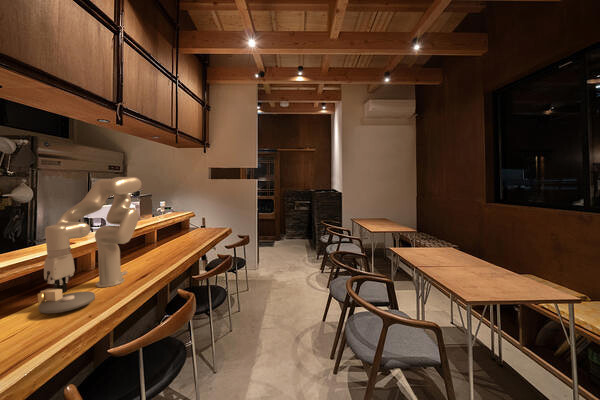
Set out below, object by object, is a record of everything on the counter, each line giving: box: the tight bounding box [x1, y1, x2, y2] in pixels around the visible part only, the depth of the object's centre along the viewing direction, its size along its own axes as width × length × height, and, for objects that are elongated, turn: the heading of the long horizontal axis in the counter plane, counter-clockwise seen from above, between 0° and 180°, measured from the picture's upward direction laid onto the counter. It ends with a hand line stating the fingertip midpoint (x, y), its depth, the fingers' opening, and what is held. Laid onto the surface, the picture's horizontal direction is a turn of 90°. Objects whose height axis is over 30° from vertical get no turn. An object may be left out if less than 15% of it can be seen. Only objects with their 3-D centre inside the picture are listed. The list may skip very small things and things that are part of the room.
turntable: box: [38, 288, 96, 314], centre depth 112 cm, size 20×18×6 cm
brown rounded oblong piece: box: [37, 292, 75, 313], centre depth 112 cm, size 8×15×7 cm, turn 83°
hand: (62, 292), depth 116 cm, fingers closed
